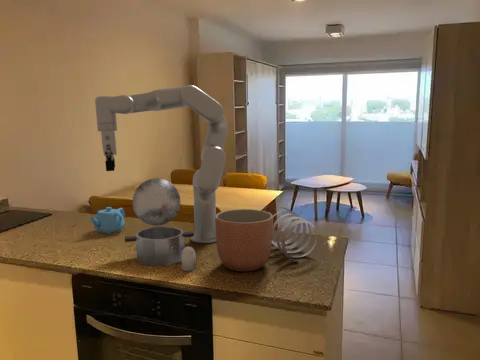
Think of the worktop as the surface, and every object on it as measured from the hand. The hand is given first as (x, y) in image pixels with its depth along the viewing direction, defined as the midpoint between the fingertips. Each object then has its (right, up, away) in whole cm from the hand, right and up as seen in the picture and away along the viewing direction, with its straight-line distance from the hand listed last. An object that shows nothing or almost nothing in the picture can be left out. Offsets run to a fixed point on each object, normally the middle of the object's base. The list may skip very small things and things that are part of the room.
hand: (110, 169), depth 174 cm
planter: (+55, -36, -18) cm, 68 cm away
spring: (+73, -33, -1) cm, 80 cm away
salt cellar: (+34, -36, -20) cm, 54 cm away
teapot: (-9, -29, +27) cm, 41 cm away
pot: (+22, -35, -9) cm, 42 cm away
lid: (+19, -13, -1) cm, 23 cm away
